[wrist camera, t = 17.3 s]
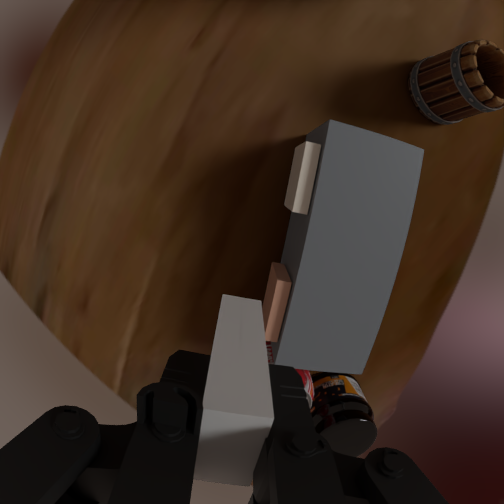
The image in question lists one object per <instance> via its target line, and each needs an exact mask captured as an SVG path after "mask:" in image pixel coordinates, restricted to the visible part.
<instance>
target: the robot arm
mask: <svg viewBox="0 0 504 504" xmlns="http://www.w3.org/2000/svg"><path fill="white" fill-rule="evenodd" d="M304 388H305V387H304V383H303V380H302V377H301V375H300V374H299V373H298V372H297V371H296V370H295V369H294V367H291V366H283V365H275V364H268V357H267V348H266V340H265V331H264V322H263V313H262V304H261V301H260V300H254V299H248V298H242V297H237V296H231V295H225V294H223V295H222V300H221V306H220V311H219V316H218V321H217V327H216V332H215V337H214V343H213V348H212V354H211V356H210V355H205V354H199V353H194V352H189V351H184V350H178V351H177V352H175V353H174V354H173V355H171V356H170V357H169V359H168V362H167V364H166V367H165V369H164V372H163V374H162V378H161V379H160V382H158V383H152V384H150V385H147V386H145V387H143V388H142V389H141V390H140V391H139V393H138V394H137V422H134V423H131V424H127V425H102V424H98V422H97V420H96V419H95V417H94V416H93V415H92V414H90V413H89V412H88V411H87V410H84V409H82V408H79V407H77V406H66V405H65V406H59V407H54V408H53V409H51V410H49V411H47V412H45V413H44V414H43V415H42V416H41V417H39V418H38V419H37V420H36V421H35V422H33V423H32V424H31V425H29V426H28V427H27V428H26V429H24V430H23V431H22V432H21V433H20V434H18V435H17V436H16V437H15V438H13V439H12V440H11V441H10V442H9V443H7V444H6V445H5V446H4V447H3V448H1V449H0V504H190V498H191V490H192V484H193V479H196V480H202V481H208V482H215V483H222V484H231V485H241V486H250V484H251V482H252V479H253V494H252V496H251V498H250V501H249V503H248V504H449V503H448V502H447V501H446V500H445V499H444V497H443V496H442V495H441V494H440V493H439V491H438V490H437V489H436V488H435V487H434V486H433V484H432V483H431V482H430V481H429V479H428V478H427V477H426V476H425V475H424V473H422V471H421V470H420V469H419V468H418V466H417V465H416V464H415V463H414V462H413V460H412V459H411V458H409V457H408V456H407V455H406V454H405V453H403V452H401V451H399V450H397V449H392V448H387V447H386V448H377V449H375V450H373V451H371V452H370V453H369V454H368V455H367V457H366V458H365V459H362V458H357V457H353V456H348V455H344V454H341V453H338V452H335V451H333V450H332V449H331V447H330V445H329V443H328V441H327V440H326V439H325V438H324V437H323V436H321V435H320V434H319V433H316V430H315V426H314V422H313V419H312V415H311V411H310V407H309V403H308V399H307V395H306V391H305V390H304Z"/></svg>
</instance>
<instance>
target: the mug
mask: <svg viewBox="0 0 504 504" xmlns="http://www.w3.org/2000/svg"><path fill="white" fill-rule="evenodd" d="M408 85H409V91H410V93H411V97H412V100H413V102H414V104H415V105H416V107H417V108H418V109H419V111H420V112H421V113H422V114H423V115H424V116H425V117H426V118H427V119H431V120H432V121H433V122H435V123H437V124H447V125H448V124H452V123H456V122H459V121H461V120H463V119H464V118H467V117H471V116H474V115H477V114H480V113H483V112H491V111H495V110H498V109H501V108H502V107H503V106H504V51H503V50H502V49H500V48H497V46H496V44H495V43H493V42H491V41H486V40H476V41H469V42H466V43H463V44H461V45H459V46H457V47H455V48H454V49H451V50H448V51H446V52H443V53H441V54H438V55H436V56H430V57H427V58H425V59H423V60H421V61H419V62H417V64H416V65H414V67H413V68H412V69H411V71H410V78H409V79H408Z"/></svg>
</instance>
